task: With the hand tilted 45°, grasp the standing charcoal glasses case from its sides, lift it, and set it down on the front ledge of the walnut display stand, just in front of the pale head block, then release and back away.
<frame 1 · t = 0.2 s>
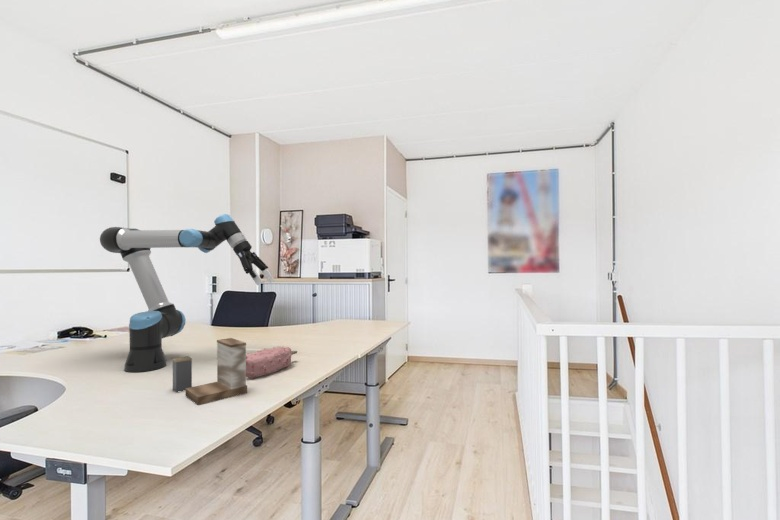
hand: (266, 282, 175), 36 cm above the table, tool tilted 35°, fingers open, 13 cm apart
stand: (216, 394, 131), on the table
ice cream bar: (270, 370, 161), on the table
case: (182, 389, 137), on the table
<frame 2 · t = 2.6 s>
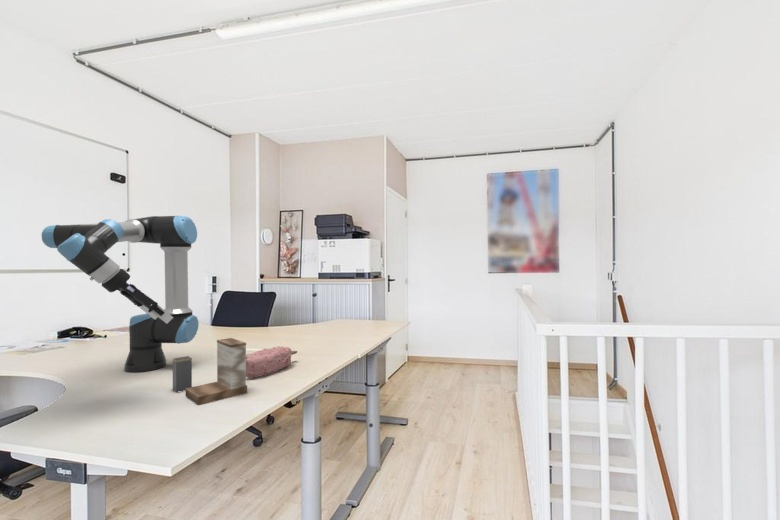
hand: (163, 318, 132), 26 cm above the table, tool tilted 45°, fingers open, 13 cm apart
nothing on the table moved.
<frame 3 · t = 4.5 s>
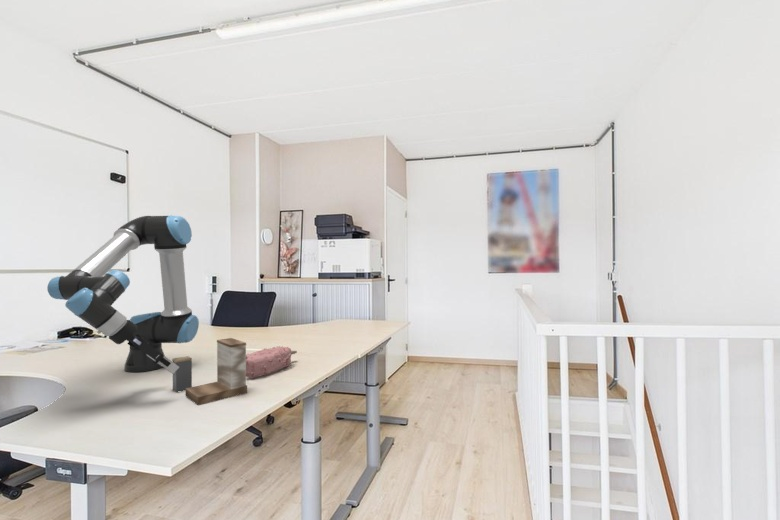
hand: (170, 366, 133), 9 cm above the table, tool tilted 45°, fingers open, 13 cm apart
nothing on the table moved.
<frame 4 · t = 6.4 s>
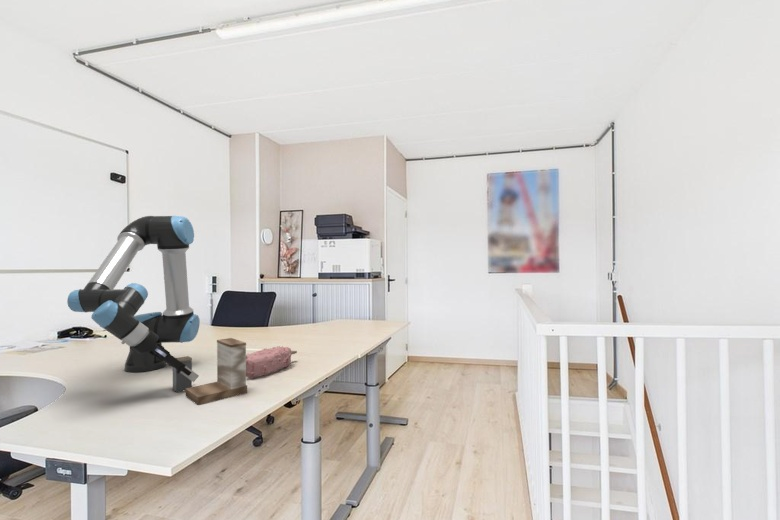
hand: (193, 377, 139), 3 cm above the table, tool tilted 45°, fingers closed on case, 4 cm apart
case: (182, 389, 137), on the table, touching gripper
everything else where it was.
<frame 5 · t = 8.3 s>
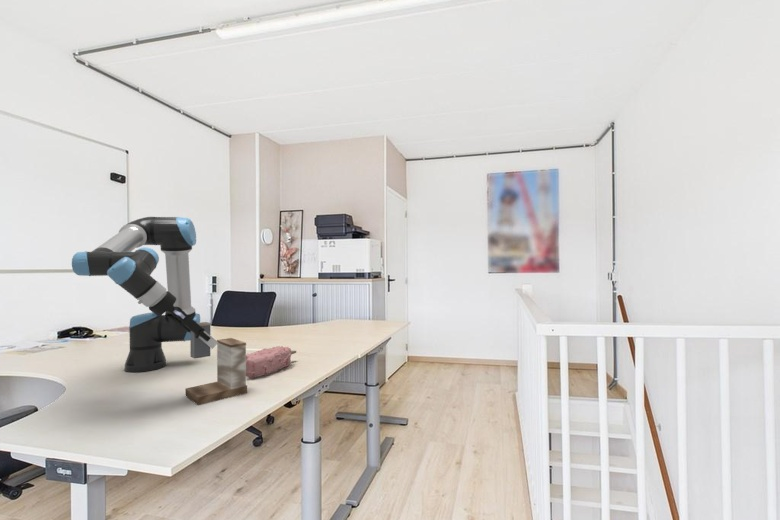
hand: (212, 344, 132), 17 cm above the table, tool tilted 45°, fingers closed on case, 4 cm apart
case: (200, 356, 129), point 14 cm above the table, touching gripper
everything else where it was.
when the fingers open (7 cm above the table, at t = 10.4 s): case drops 1 cm, resting on stand.
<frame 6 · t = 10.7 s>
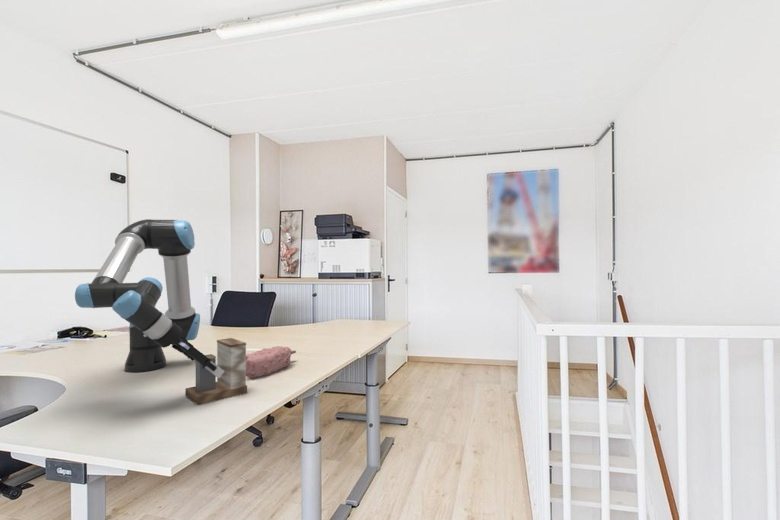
hand: (216, 371, 131), 8 cm above the table, tool tilted 45°, fingers open, 8 cm apart
case: (205, 389, 129), point 2 cm above the table, touching stand
everything else where it was.
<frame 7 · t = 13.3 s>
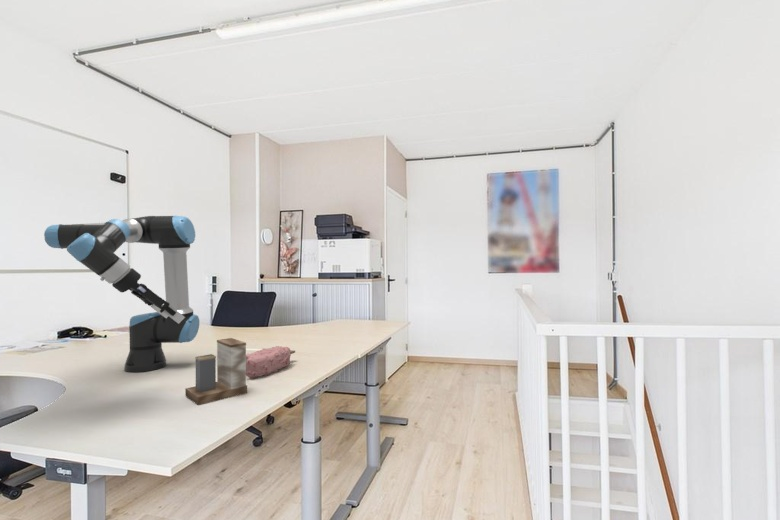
hand: (175, 317, 131), 26 cm above the table, tool tilted 45°, fingers open, 13 cm apart
nothing on the table moved.
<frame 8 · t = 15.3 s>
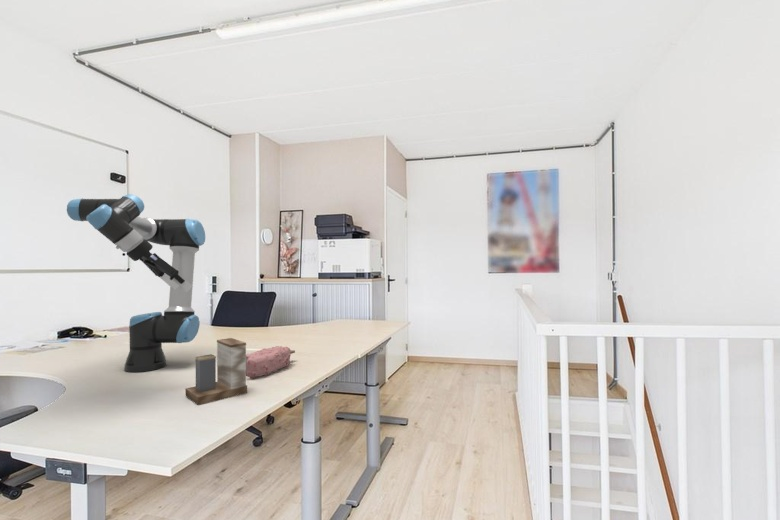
hand: (183, 288, 140), 36 cm above the table, tool tilted 45°, fingers open, 13 cm apart
nothing on the table moved.
at the end: case inside the target area on the stand (0.1 cm from its centre), point 2.5 cm above the stand's base; case tilted 0°; the gripper is holding nothing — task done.
